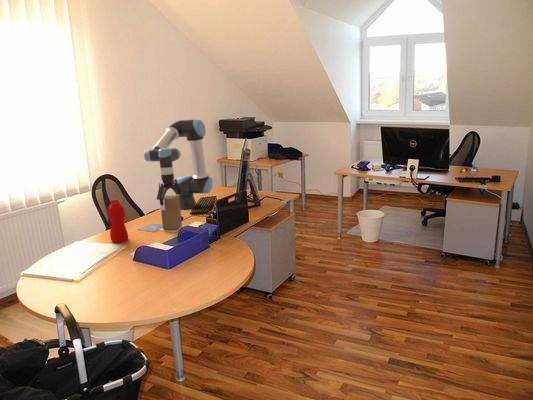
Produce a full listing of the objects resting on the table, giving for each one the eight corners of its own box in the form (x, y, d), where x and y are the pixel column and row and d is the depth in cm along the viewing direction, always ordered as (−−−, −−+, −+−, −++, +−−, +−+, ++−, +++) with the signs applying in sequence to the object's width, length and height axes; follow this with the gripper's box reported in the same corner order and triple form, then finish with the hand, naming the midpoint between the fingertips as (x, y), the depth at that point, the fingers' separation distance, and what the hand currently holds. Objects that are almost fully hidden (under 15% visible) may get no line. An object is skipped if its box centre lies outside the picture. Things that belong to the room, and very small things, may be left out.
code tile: (153, 223, 293) (153, 223, 293) (169, 225, 286) (169, 225, 286) (137, 229, 281) (137, 229, 281) (154, 232, 275) (153, 231, 274)
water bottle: (132, 240, 261) (127, 198, 255) (113, 244, 256) (107, 201, 250) (128, 236, 269) (123, 196, 263) (109, 240, 264) (104, 199, 258)
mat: (171, 225, 288) (171, 224, 288) (186, 227, 282) (186, 226, 282) (159, 230, 278) (159, 229, 278) (173, 232, 272) (173, 231, 272)
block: (178, 229, 275) (175, 198, 270) (162, 230, 275) (159, 198, 271) (182, 225, 284) (179, 194, 280) (166, 225, 285) (163, 195, 280)
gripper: (175, 169, 284) (179, 201, 289) (148, 177, 263) (152, 211, 268) (185, 170, 280) (188, 202, 285) (157, 178, 259) (161, 213, 265)
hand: (170, 207), depth 277 cm, fingers open, 13 cm apart
